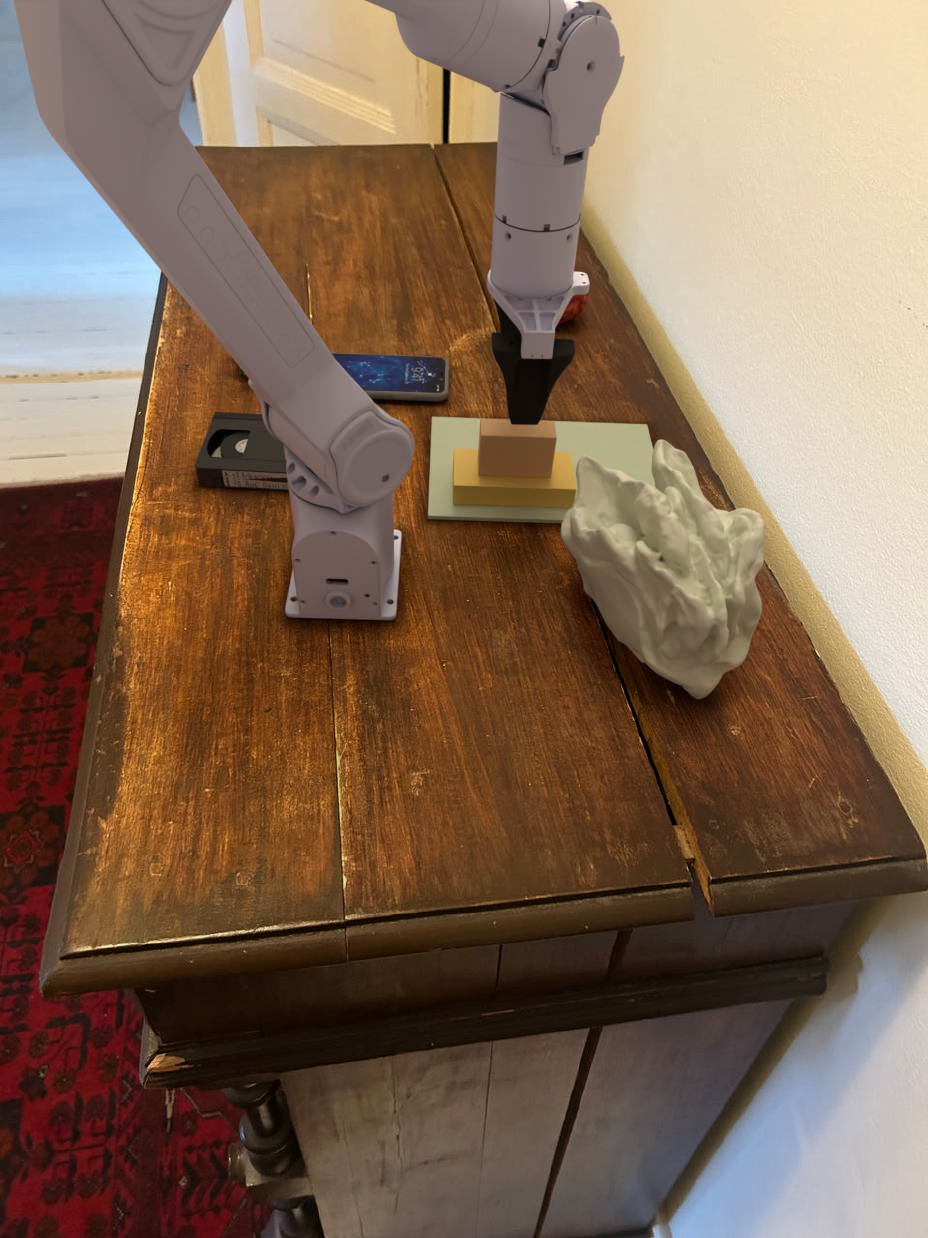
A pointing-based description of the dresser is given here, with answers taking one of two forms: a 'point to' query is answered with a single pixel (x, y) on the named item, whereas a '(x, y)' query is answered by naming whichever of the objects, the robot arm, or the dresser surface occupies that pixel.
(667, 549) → the wavy plaster lump
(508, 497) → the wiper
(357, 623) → the dresser surface
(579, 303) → the red bumpy ball
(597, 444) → the mat
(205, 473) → the vhs tape
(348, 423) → the robot arm
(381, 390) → the smartphone
